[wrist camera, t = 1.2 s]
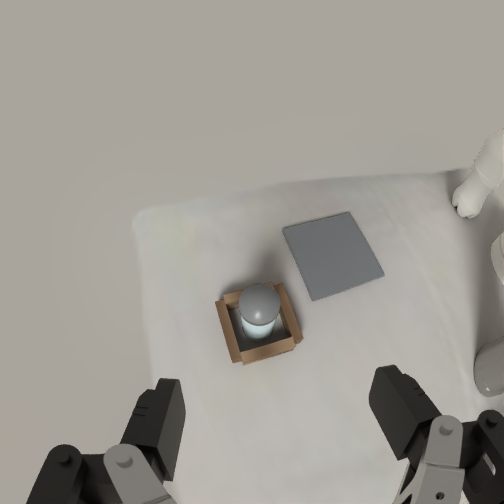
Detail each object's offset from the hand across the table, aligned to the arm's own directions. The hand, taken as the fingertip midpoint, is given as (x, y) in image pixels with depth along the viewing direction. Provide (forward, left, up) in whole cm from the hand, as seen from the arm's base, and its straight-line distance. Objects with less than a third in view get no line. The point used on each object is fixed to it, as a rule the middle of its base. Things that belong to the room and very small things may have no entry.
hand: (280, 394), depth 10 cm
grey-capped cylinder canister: (-3, -10, -24) cm, 26 cm away
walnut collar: (-3, -10, -24) cm, 26 cm away
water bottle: (-51, -18, -24) cm, 59 cm away
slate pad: (-17, -17, -24) cm, 33 cm away
